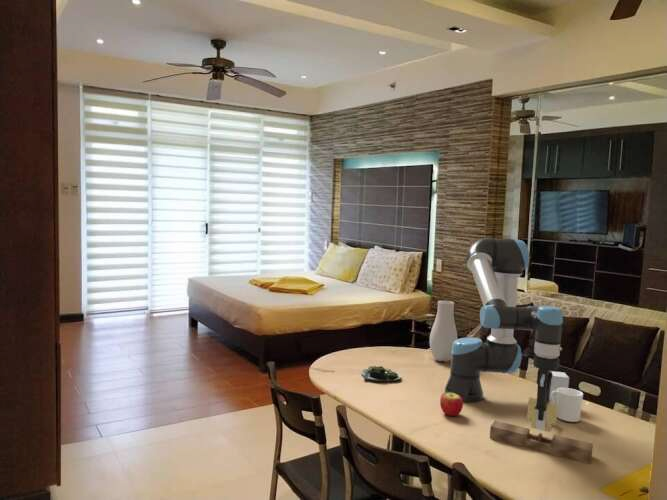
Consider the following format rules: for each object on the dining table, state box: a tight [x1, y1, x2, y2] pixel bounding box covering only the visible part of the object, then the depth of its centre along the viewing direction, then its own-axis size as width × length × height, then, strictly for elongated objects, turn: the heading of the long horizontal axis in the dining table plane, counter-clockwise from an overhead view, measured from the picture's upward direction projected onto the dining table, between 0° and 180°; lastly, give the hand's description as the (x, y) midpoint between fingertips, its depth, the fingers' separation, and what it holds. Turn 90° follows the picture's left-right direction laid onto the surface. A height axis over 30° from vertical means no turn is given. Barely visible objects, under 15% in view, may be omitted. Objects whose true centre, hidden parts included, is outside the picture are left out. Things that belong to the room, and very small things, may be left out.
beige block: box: [526, 397, 558, 433], centre depth 166 cm, size 8×3×9 cm, turn 60°
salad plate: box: [360, 365, 402, 384], centre depth 232 cm, size 19×18×5 cm
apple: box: [439, 387, 464, 417], centre depth 190 cm, size 8×8×10 cm
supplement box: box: [549, 371, 570, 403], centre depth 206 cm, size 7×7×13 cm
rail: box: [489, 420, 594, 465], centre depth 167 cm, size 30×6×4 cm, turn 60°
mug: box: [551, 387, 584, 424], centre depth 192 cm, size 11×9×10 cm
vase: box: [429, 300, 459, 363], centre depth 261 cm, size 14×14×30 cm
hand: (541, 427), depth 166 cm, fingers closed on beige block, 3 cm apart
